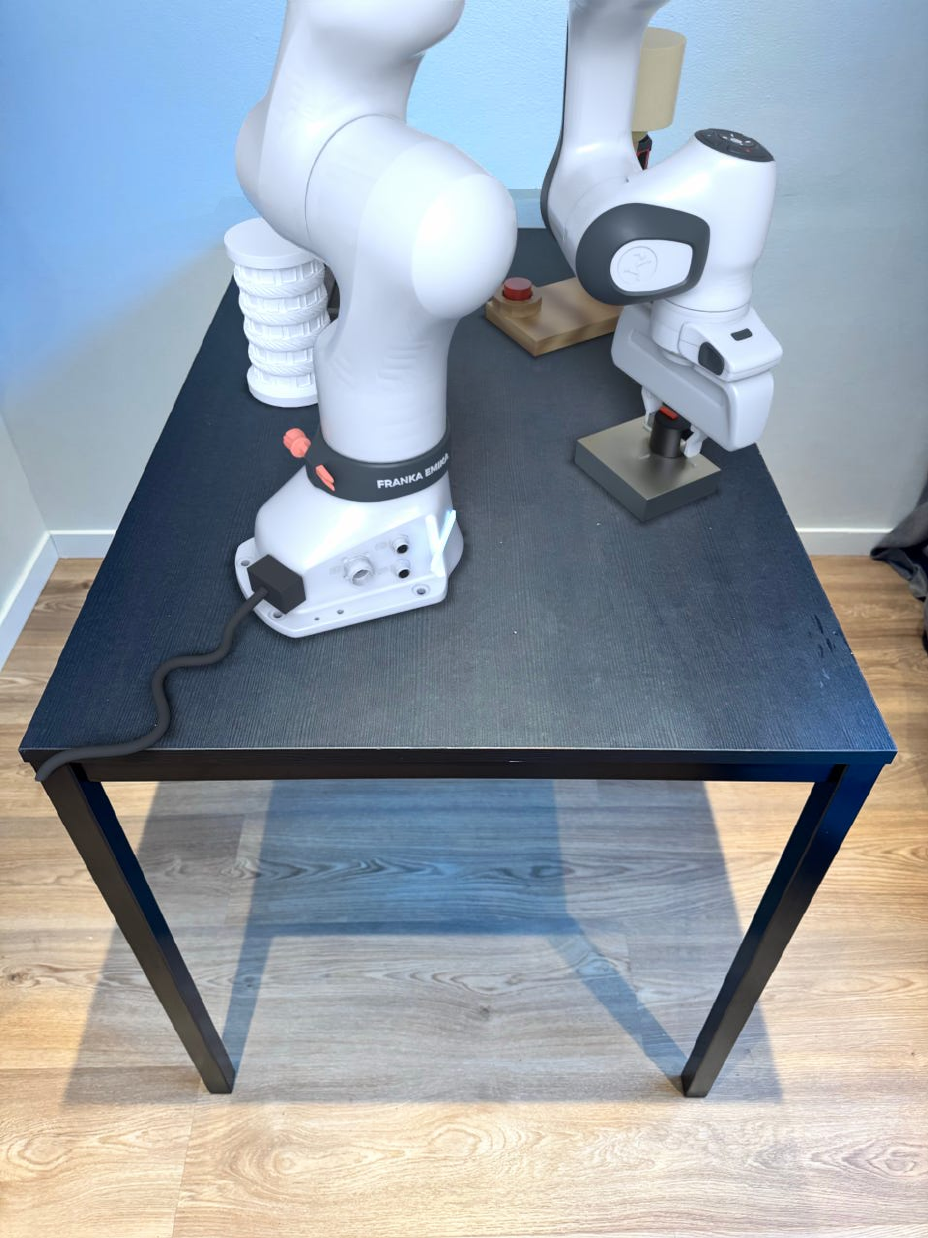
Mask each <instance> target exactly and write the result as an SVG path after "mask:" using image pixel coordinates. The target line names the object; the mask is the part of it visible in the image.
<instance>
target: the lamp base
mask: <svg viewBox="0 0 928 1238" xmlns="http://www.w3.org/2000/svg"><path fill="white" fill-rule="evenodd" d="M624 307H625V306H613V305H608V304H604V303H602V302H599V301H598V300H596V299H594V298H593V297H591V296H590V295H589V294H588V293H587V292H586V291H585V290H584V288H583V287H582V285H581V284H580V282H579V280H578V279H577V277H576V276H575V277H570V278H567V279H564V280H561V281H557V282H554V283H553V282H552V283H549V284H546V285H542V286H539V287H537V286H536V285H534V284H531V297H530V299H527V300H524V301H512V300H509V299H506V298H505V297H504V283H502V284H501V285H500V287H499V288H498V290H497V291H496V292H495V293H494V295H493V296H492V297H491V300H490V301H489V300H488V301H487V302H486V303H485V318H486V319H487V320H488V321H490V322H491V323H492V324H493V325H495V326H496V327H497V328H499V330H501V331H502V332H504V333H505V334H506V335H507V336H508V337H509V338H511V339H512V340H513V341H515V342H516V343H518V345H520V346H521V347H522V348H523V349H525V350H526V351H527V352H528V353H530V355H532V356H533V357H537V356H541V355H543V354H547V353H550V352H553V351H556V350H559V349H563V348H566V347H569V346H572V345H575V344H578V343H582V342H585V341H587V340H591V339H594V338H598V337H600V336H605V335H606V334H610V333H614V332H615V330H616V326H617V323H618V319H619V317H620V314H621V312H622V310H623V308H624Z"/></svg>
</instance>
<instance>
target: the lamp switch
mask: <svg viewBox="0 0 928 1238" xmlns="http://www.w3.org/2000/svg"><path fill="white" fill-rule="evenodd" d="M503 284H504V297H505V298H506V299H509V300H512V301H524V300H527V299H530V297H531V285H532V281H531V280H530V279H527V278H525V277H524V278H523V277H520V276H519V277H515V276H514V277H510V278H507V279H505V280H504V281H503Z"/></svg>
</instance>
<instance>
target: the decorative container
mask: <svg viewBox="0 0 928 1238" xmlns="http://www.w3.org/2000/svg"><path fill="white" fill-rule="evenodd" d="M223 241H224V246H225V252H226V256H227V257H228V258H229V259H230V260H231V261H233V262H234V267H233V278H234V281H235V283H236V286H237V287H238V289H239V295H238V305H239V308H240V310H241V313H242V314H243V316H244V317H243V318H244V320H243V331H244V335H245V337H246V340H248V343H249V344H248V346H247V347H248V350H247V354H248V359H249V360H250V363H251V366H250V367H249V368H248V370H247V373H246V379H247V385H248V390H249V392H250V393H251V395H252V396H253V397H254V398H255V399H257V400H258V401H260V402H262V403H264V404H267V405H270V406H274V407H281V408H299V407H306V406H311V405H314V404H318V399H317V391H316V383H315V375H314V367H313V360H312V355H313V348H314V345H315V342H316V340H317V338H318V336H319V335H320V334H321V333H322V331H323V330H324V329H325V328H326V327H327V326H328V325H329V324H331V323H330V322H331V320H330V317H329V315H328V312H327V309H326V307H327V303H328V297H327V296H328V294H327V291H326V288H325V286H324V282H323V281H324V277H325V270H326V267H325V263H323V262H321V261H320V260H318V259H316V258H315V257H313V256H311V255H309V254H308V253H306V252H304V251H303V250H301V249H299V248H298V247H296V246H294V245H293V244H291V243H289V242H288V241H286V240H284V239H283V238H282V237H280V236H279V235H278V234H277V233H276V232H275V231H274V230H273V229H272V228H271V227H270V225H269V224H268V223H267V222H266V221H265V220H264V219H263V218H262V217H261V216H259V217H254V218H249V219H247V220H245V221H241V222H239V223H237V224H235V225H233V226H231V227H230V228H229V229H228V230H227V231H226V232H225V234H224V236H223Z"/></svg>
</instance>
